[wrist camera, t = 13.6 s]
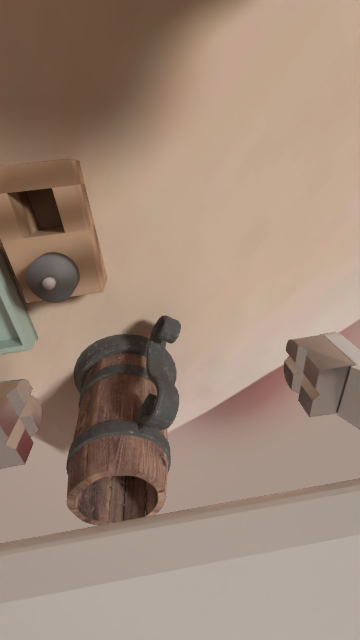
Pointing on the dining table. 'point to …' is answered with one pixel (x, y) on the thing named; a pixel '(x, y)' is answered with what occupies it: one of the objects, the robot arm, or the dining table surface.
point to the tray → (13, 315)
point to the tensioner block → (50, 233)
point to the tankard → (123, 426)
